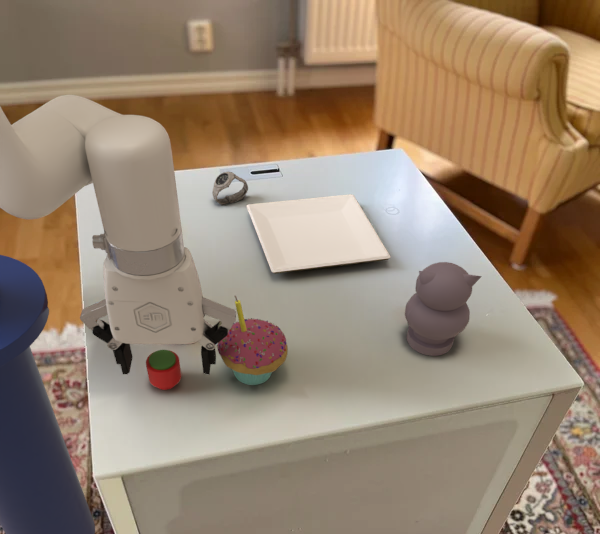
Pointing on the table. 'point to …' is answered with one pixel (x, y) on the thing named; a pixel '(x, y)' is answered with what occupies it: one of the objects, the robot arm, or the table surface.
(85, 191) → the table surface
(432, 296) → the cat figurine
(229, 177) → the wristwatch
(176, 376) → the red cylinder green top
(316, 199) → the plate
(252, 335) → the cupcake
